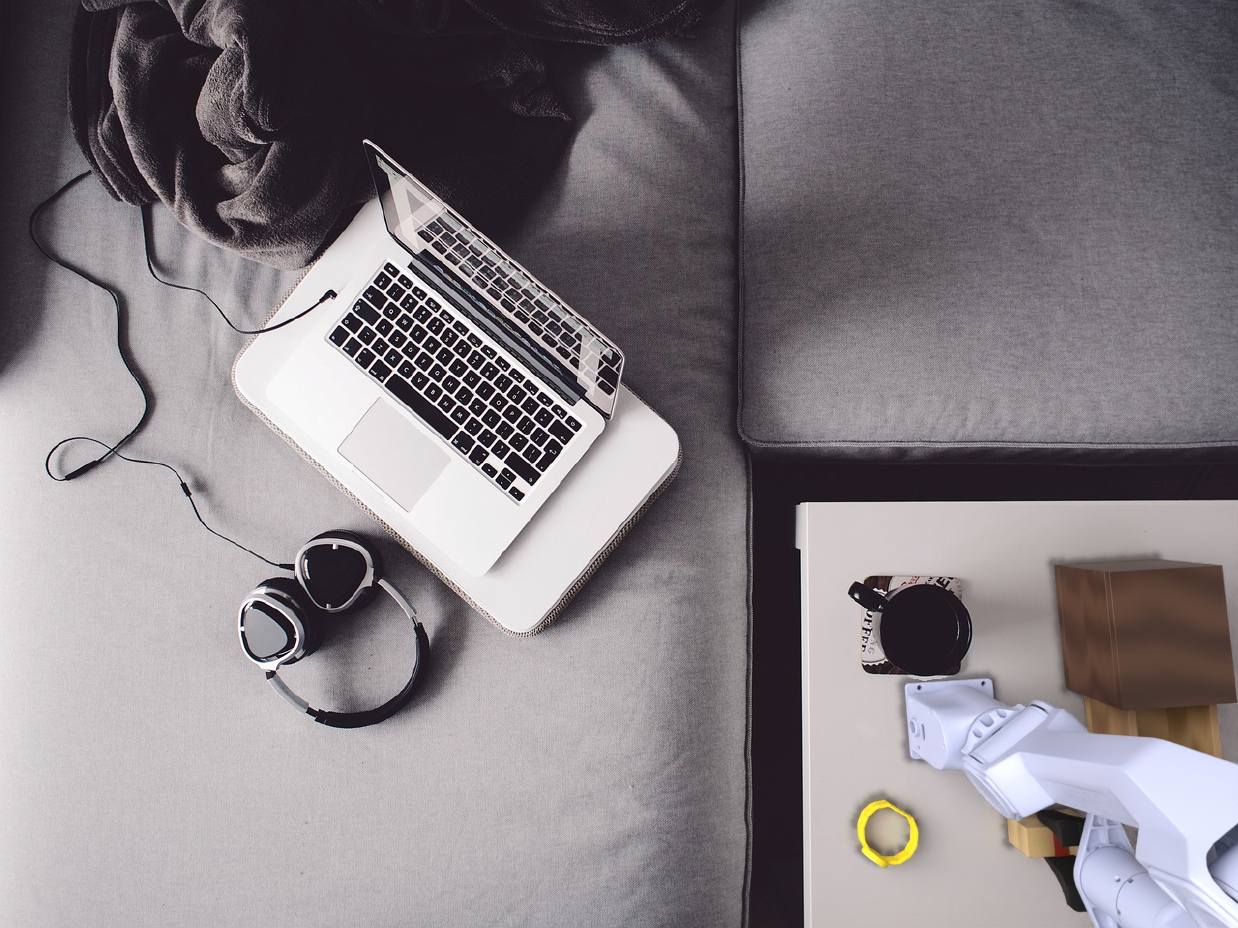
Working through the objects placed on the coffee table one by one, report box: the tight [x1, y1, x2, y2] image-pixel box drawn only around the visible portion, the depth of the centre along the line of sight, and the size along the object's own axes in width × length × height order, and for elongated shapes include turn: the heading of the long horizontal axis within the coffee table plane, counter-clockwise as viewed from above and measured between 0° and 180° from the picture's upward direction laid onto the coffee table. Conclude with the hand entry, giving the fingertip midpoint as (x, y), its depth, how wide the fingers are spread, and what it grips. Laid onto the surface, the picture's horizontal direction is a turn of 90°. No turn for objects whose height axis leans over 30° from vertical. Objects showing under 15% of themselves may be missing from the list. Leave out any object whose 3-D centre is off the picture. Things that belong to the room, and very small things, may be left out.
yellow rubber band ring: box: [856, 799, 920, 869], centre depth 73 cm, size 6×3×6 cm
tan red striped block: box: [1006, 808, 1082, 859], centre depth 73 cm, size 7×3×4 cm, turn 93°
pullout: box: [1083, 695, 1224, 760], centre depth 71 cm, size 17×10×7 cm, turn 3°
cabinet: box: [1053, 558, 1238, 711], centre depth 72 cm, size 13×11×8 cm
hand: (1047, 831), depth 73 cm, fingers closed on tan red striped block, 3 cm apart
